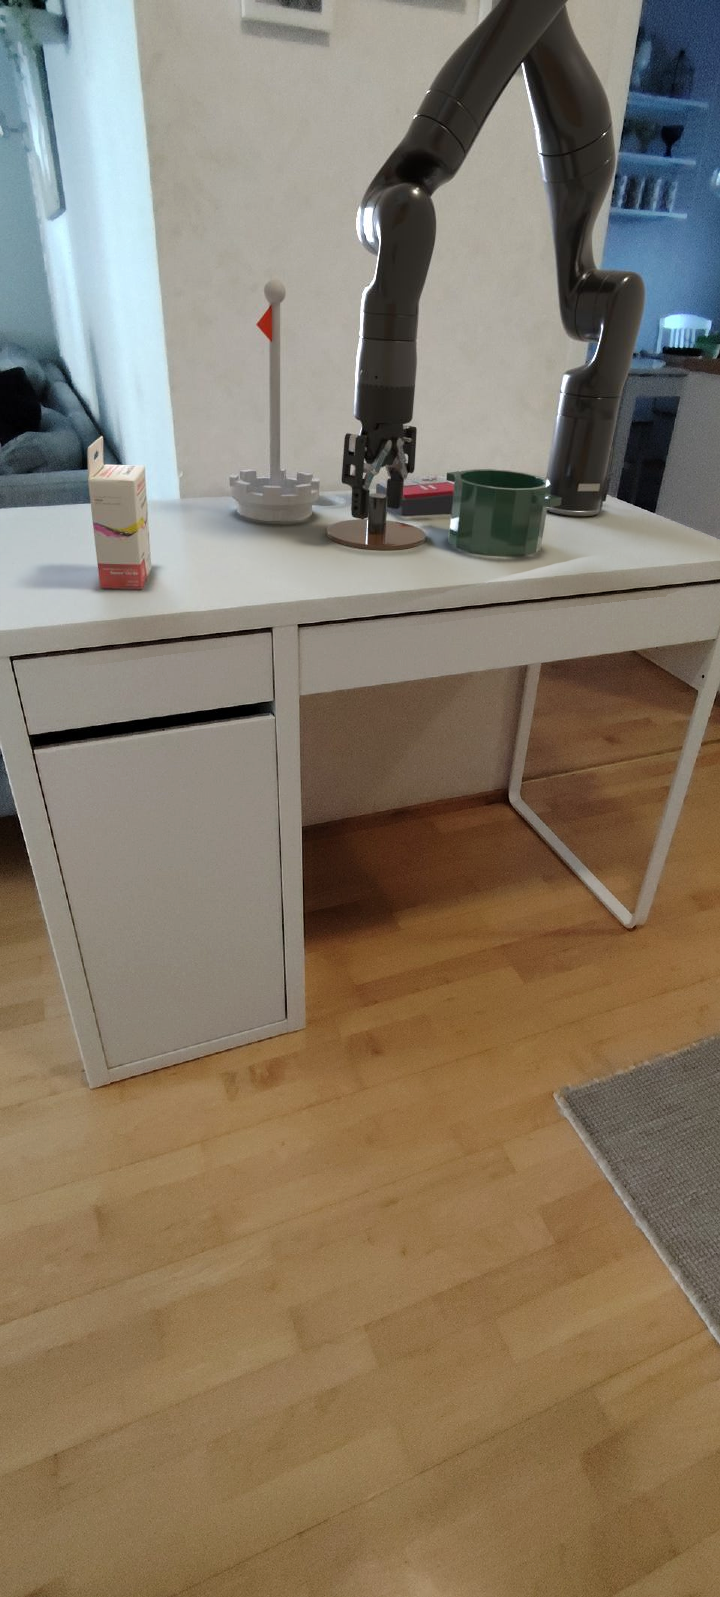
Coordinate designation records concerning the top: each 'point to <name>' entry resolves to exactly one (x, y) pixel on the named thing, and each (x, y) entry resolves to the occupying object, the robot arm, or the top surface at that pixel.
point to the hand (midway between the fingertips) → (377, 512)
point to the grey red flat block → (423, 496)
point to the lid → (376, 529)
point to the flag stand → (274, 443)
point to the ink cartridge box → (119, 521)
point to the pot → (498, 511)
